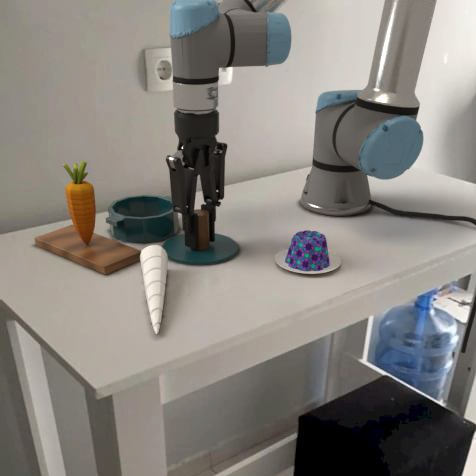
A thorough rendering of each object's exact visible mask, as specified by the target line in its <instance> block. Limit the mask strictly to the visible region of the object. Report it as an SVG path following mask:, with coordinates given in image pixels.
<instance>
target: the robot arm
mask: <svg viewBox="0 0 476 476" xmlns="http://www.w3.org/2000/svg"><path fill="white" fill-rule="evenodd" d="M287 2H289V0H222V1H221V2H217V0H174V1H173V2H172V3H171V5H170V8H169V33H168V34H169V38H170V55H171V70H172V101H173V102H172V103H173V104H172V105H173V107H174V108H175V111H174V112H173V121H174V122H173V123H174V133H175V134H176V136H177V138H178V142H177V146H176V152H174V154H172V155H170V154H167V155H166V157H165V162H166V165H167V167H168V173H169V174H168V175H169V185H170V197H171V198H172V209H173V211H174V212H178V214H181V225H182V226H181V227H182V231H183V232H184V233H183V234H185V246H187V247H190V248H192V249H195V250H196V249H198V216H197V214H196V213H194V210H195V206H196V197H197V196H196V195H197V186H198V177H199V181H200V186H201V192H202V197H203V202H204V203H201V204H200V209H203V210H207V211H208V212H209V235H210V242H214V241H215V233H216V225H215V224H216V221H217V207H218V208H219V207H220V206H221V205H222V201H223V200H224V198H225V183H226V182H225V181H226V180H225V174H226V155H227V151H228V143H226V142H222V141H218V140H217V137H216V136H217V135H218V134H219V133H220V112H219V110H218V107H219V106H220V103H219V102H220V101H219V81H220V69H222V68H223V69H227V68H242V67H243V68H246V67H264V68H268V67H269V66H276V65H277V66H278V65H282V64H283V63H285V62H286V61H287V60H288V57H289V55H290V52H291V49H292V28H291V24H290V21H289V19H288V17H287V16H286V15H285V14H284V13H282V12H279V10H281V9H282V7H283V6H284V5H286V3H287ZM437 2H438V0H384V3H383V8H382V11H381V17H380V21H379V25H378V26H379V27H378V32H377V36H376V42H375V46H374V52H373V56H372V61H371V66H370V71H369V75H368V81H367V84H366V86H365V87H364V88H363V89H341V90H329V91H324V92H322V93H320V94H319V95H318V98H317V100H316V101H317V102H316V106H315V107H316V108H315V118H314V119H315V121H314V134H313V137H314V138H313V150H312V161H311V169H310V171H309V173H308V174H307V176H306V178H305V184H304V187H303V188H302V192H301V197H300V204H301V206H302V207H303V208H304V209H306V210H308V211H310V212H312V213H316V214H320V215H325V216H334V217H335V216H336V217H346V216H355V215H360V214H363V213H365V212H367V211H369V210H370V208H371V206H373V207H376V208H378V209H381V210H384V211H386V212H388V213H390V214H393V215H396V216H397V215H398V216H403V217H415V218H423V219H424V218H425V219H436V220H442V221H443V220H444V221H453V222H466V223H470V224H472V225H474V226H476V218H474V217H470V216H464V215H463V216H462V215H447V214H440V213H430V212H420V211H408V210H400V209H396V208H392V207H390V206H388V205H386V204H383V203H381V202H378V201H375V200H373V199H372V194H371V188H370V182H369V177H372V178H375V179H377V180H383V181H387V180H392V179H395V178H398V177H400V176H402V175H403V174H404V173H405V172H406V171H407V170H409V169H411V168H412V166H413V165H414V164H415V163H416V161H417V160H418V158H419V156H420V154H421V152H422V149H423V146H424V131H423V130H422V126H421V125H420V123H419V122H418V121H417V119H418V114H419V111H420V107H421V102H420V100H419V99H418V97H417V96H416V88H417V84H418V81H419V75H420V71H421V67H422V63H423V60H424V54H425V50H426V47H427V43H428V40H429V39H428V38H429V34H430V29H431V25H432V22H433V18H434V15H435V14H434V13H435V10H436V5H437ZM475 317H476V295H475V296H474V300H473V304H472V308H471V312H470V315H469V318H468V322H467V325H466V330H465V333H464V337H463V341H462V345H461V349H460V353H462V354H466V352H467V346H468V342H469V338H470V335H471V331H472V327H473V323H474V320H475Z"/></svg>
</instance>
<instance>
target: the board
mask: <svg viewBox="0 0 476 476" xmlns="http://www.w3.org/2000/svg"><path fill="white" fill-rule="evenodd" d="M33 239H34V244H35V246H36V247H39V248H41V249H44V250H46V251H48V252H51V253H53V254H55V255H58V256H60V257H62V258H65V259H67V260H69V261H72V262H74V263H76V264H79V265H82V266H84V267H86V268H88V269H90V270H94V271H95V272H98V273H100V274H103V275H104V276H105V275H108V274H110V273H114V272H116V271H118V270H120V269H122V268H125V267H127V266H129V265H132V264H134V263H136V262H139V261H140V254H141V251H142V249H138V248H135V247H133V246H130V245H127V244H125V243H122V242H119V241H116V240H114V239H111V238H108V237H107V236H103V235H101V234H98V233H95V232H93V235H92V238H91V241H90V242H89V244H88V245H87V244H85V243H84V242H83V241H82V239H81V238H80V237H79V235H78V233H77V231H76V230H75V227H74V225H73V224H70V225H67V226H64V227H61V228H58V229H56V230H53V231H50V232H47V233H44V234H42V235H38V236H36V237H34V238H33Z"/></svg>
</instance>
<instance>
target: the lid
mask: <svg viewBox="0 0 476 476" xmlns="http://www.w3.org/2000/svg"><path fill="white" fill-rule="evenodd" d="M194 213H196V214H197V216H198V249H196V250H195V249H192V248H190V247H187V246H185V234H184V233H181V234H177V235H174V236H172V237H170V238H167V239H166V241H164V242H163V244H162V246H161V247H162V248H163V249H164V250H165V251H166V253H167V256H168V260H171V261H173V262H176V263H178V264H183V265H190V266H208V265H216V264H220V263H223V262H226V261H229V260H231V259H232V258H234V257H235V256H236V255H237V253H238V251H239V246H238V243H237V242H236V241H235V240H234V239H233V238H231V237H229V236H227V235H223V234H220V233H216V232H215V241H214V242H210V235H209V212H208V211H207V210H203V209H201V208H197V209H194Z"/></svg>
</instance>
